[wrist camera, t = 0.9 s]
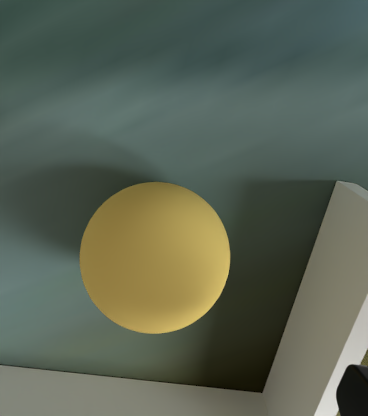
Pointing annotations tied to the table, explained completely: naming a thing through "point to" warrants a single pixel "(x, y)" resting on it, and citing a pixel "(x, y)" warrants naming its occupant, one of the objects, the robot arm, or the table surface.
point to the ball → (154, 257)
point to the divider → (284, 360)
